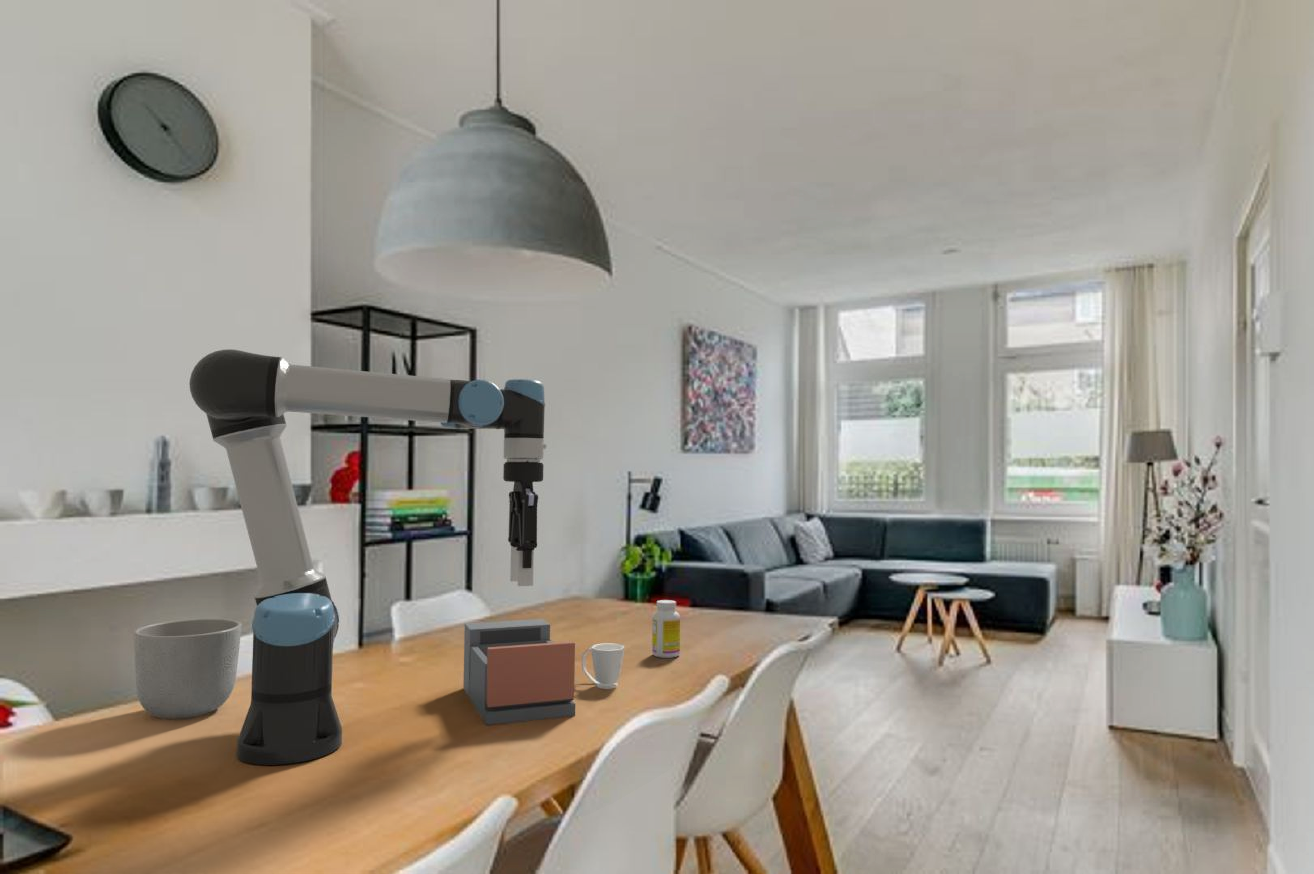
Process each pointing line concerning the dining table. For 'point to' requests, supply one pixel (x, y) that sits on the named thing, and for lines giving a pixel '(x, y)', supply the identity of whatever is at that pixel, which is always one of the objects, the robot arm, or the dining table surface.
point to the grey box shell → (501, 636)
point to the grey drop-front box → (515, 712)
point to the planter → (186, 666)
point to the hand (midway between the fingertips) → (521, 582)
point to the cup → (605, 664)
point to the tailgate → (530, 674)
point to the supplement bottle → (666, 630)
